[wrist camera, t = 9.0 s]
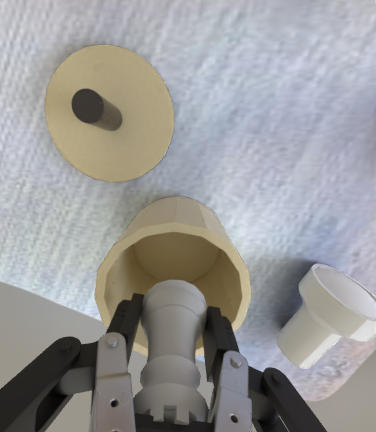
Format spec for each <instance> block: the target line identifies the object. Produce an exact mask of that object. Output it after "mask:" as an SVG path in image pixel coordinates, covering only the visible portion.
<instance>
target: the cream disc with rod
mask: <svg viewBox="0 0 376 432" xmlns="http://www.w3.org/2000/svg"><path fill="white" fill-rule="evenodd" d="M45 114H46V122H47V125H48V129H49V132H50V135H51V137H52V140H53V141H54V143H55V145H56V147H57V148H58V150H59V151H60V153H61V154H62V155H63V157H64V158H65V159H66V160H67V161H68V162H69V163H70V164H71V165H72V166H73V167H75V168H76V169H78V170H79V171H80V172H82V173H84V174H86V175H87V176H90V177H92V178H95V179H98V180H102V181H107V182H123V181H129V180H133V179H136V178H138V177H140V176H142V175H144V174H146V173H148V172H149V171H150V170H152V169H153V168H154V167H155V166H156V165H157V164H158V163H159V162H160V161H161V159H162V158H163V157H164V155H165V153H166V152H167V150H168V148H169V145H170V142H171V139H172V135H173V129H174V111H173V105H172V101H171V97H170V94H169V92H168V89H167V87H166V85H165V83H164V81H163V79H162V78H161V77H160V75H159V74H158V72H157V71H156V70H155V69H154V68H153V67H152V65H150V64H149V63H148V62H147V61H146V60H145V59H144V58H142V57H141V56H139V55H138V54H136V53H134V52H132V51H130V50H128V49H125V48H122V47H119V46H113V45H94V46H89V47H86V48H83V49H81V50H78V51H76V52H75V53H73V54H72V55H70V56H69V57H67V58H66V59H65V60H64V61H63V62H62V63H61V64H60V65H59V67H58V68H57V69H56V71H55V73H54V74H53V76H52V78H51V80H50V83H49V85H48V89H47V93H46V100H45Z"/></svg>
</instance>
